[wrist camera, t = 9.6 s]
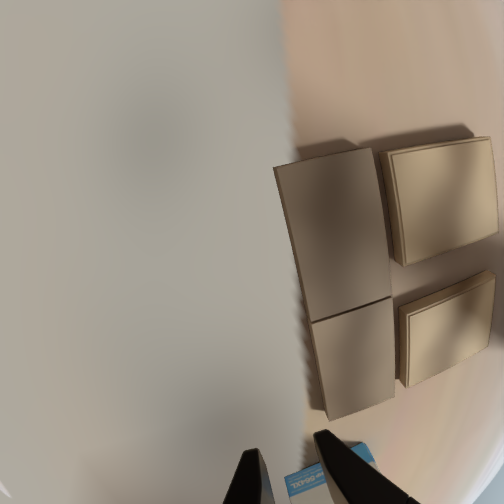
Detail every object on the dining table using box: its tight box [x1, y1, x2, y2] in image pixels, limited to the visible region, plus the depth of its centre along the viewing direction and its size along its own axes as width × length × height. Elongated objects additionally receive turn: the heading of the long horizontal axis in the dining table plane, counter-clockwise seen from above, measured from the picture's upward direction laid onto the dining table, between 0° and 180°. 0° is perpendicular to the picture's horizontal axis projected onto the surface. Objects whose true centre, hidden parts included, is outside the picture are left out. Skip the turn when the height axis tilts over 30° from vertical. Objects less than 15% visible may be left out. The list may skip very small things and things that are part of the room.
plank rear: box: [398, 270, 496, 389], centre depth 21 cm, size 9×7×1 cm
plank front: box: [379, 137, 499, 267], centre depth 18 cm, size 9×7×1 cm
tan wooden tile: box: [273, 148, 395, 421], centre depth 19 cm, size 6×18×1 cm, turn 14°
